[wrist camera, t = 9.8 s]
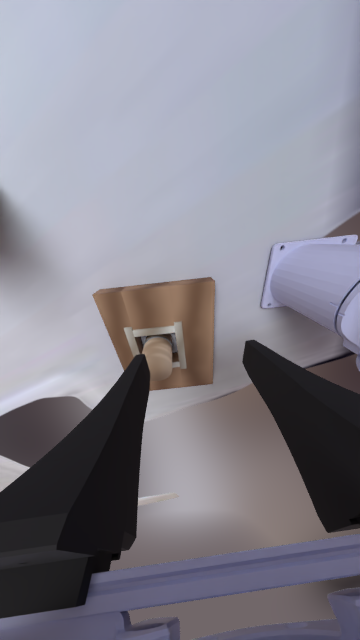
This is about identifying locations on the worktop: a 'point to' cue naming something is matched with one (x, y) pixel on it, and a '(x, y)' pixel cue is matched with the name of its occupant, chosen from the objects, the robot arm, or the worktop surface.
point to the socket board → (164, 325)
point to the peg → (159, 356)
